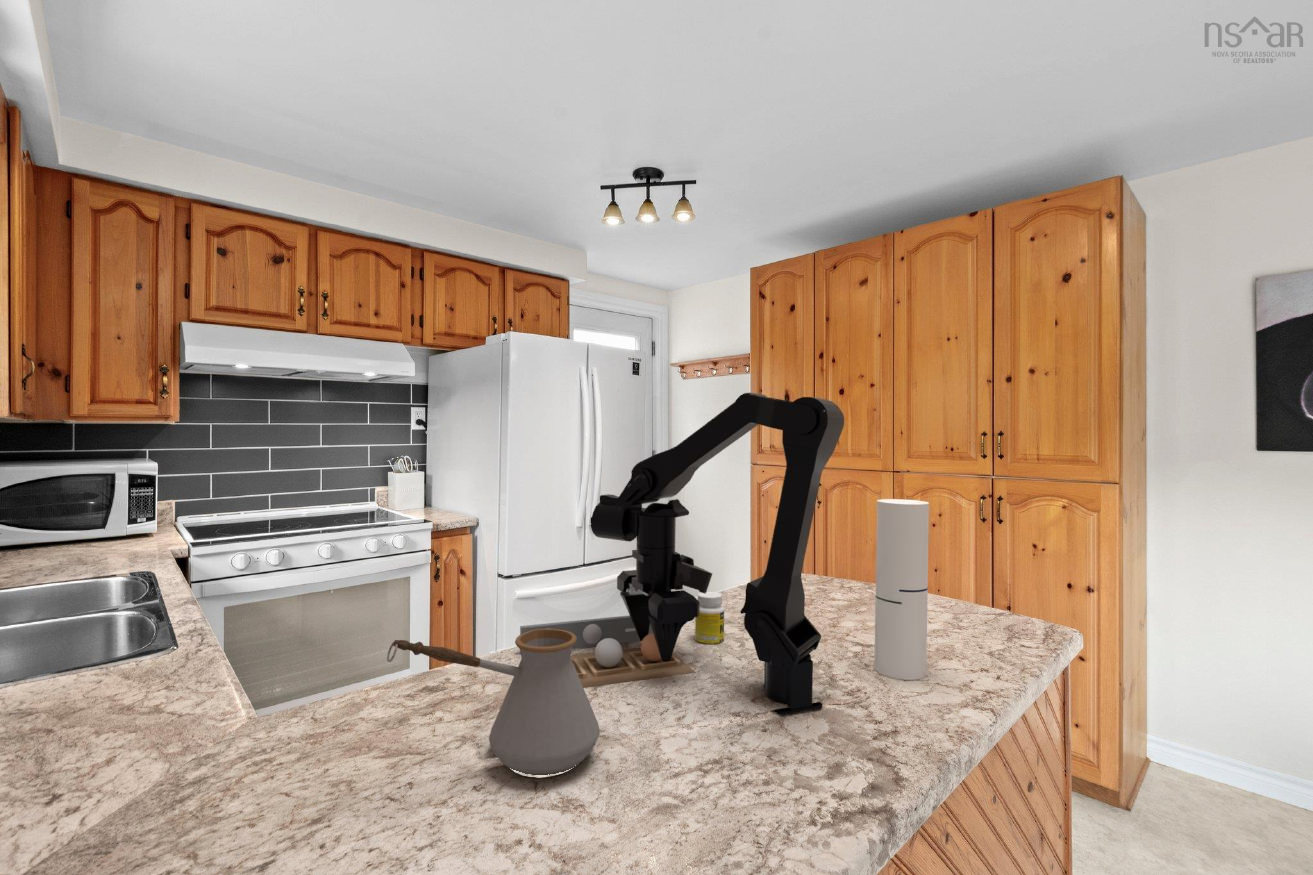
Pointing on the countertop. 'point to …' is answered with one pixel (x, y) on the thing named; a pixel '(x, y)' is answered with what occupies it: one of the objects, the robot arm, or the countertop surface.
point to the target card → (594, 630)
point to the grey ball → (608, 652)
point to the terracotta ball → (650, 648)
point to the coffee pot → (534, 703)
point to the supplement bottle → (710, 619)
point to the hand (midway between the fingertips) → (654, 650)
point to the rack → (626, 668)
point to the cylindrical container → (901, 588)
